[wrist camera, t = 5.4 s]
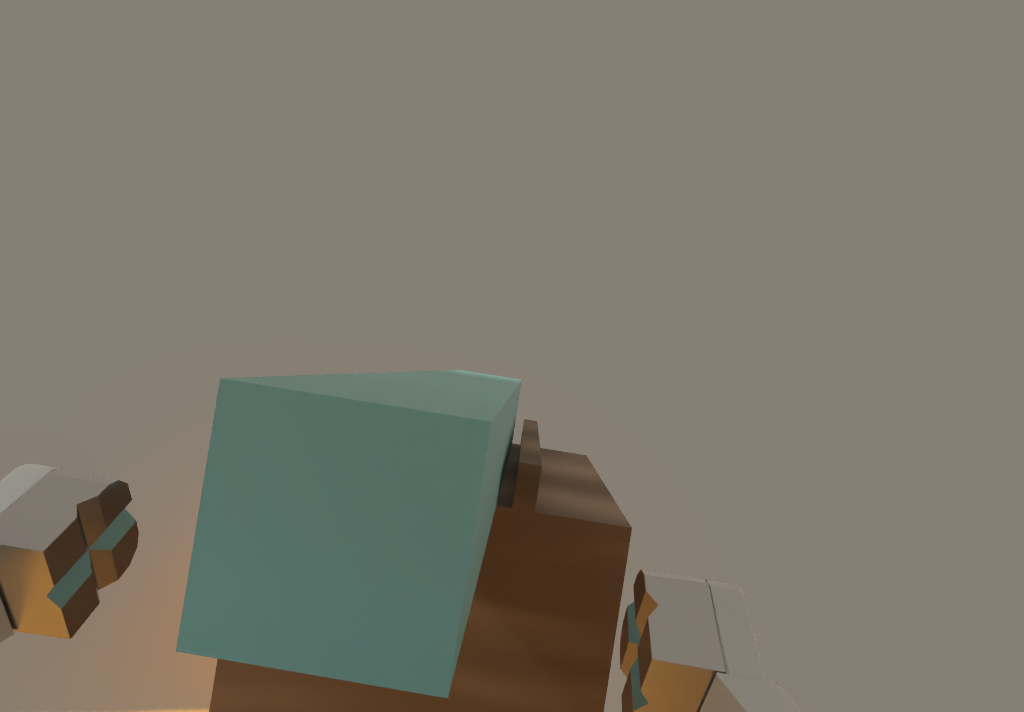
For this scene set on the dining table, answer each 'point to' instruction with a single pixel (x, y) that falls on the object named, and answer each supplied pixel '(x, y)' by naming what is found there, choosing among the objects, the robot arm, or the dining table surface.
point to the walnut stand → (502, 608)
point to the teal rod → (347, 522)
